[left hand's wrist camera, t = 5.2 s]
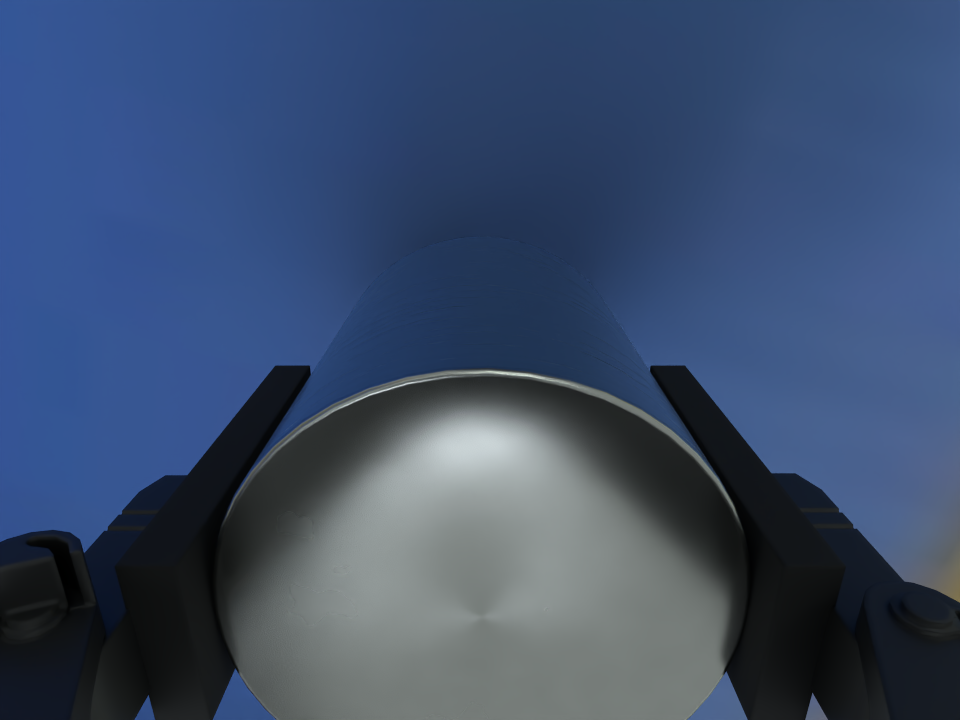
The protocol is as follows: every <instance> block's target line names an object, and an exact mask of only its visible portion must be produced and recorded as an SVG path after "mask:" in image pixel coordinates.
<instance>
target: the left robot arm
mask: <svg viewBox="0 0 960 720" xmlns="http://www.w3.org/2000/svg"><path fill="white" fill-rule="evenodd" d="M650 373H651V374H652V376H653V377H654V379H655V380H656V382H657V383H658V385H659V387H660V388H661V390H662V391H663V393H664V394H665V396H666V397H667V399H668V400H669V402H670V403H671V405H672V406H673V408H674V410H675V411H676V413H677V414H678V416H679V417H680V419H681V420H682V422H683V423H684V425H685V426H686V428H687V430H688V431H689V433H690V434H691V436H692V437H693V439H694V440H695V442H696V443H697V445H698V446H699V448H700V450H701V451H702V453H703V454H704V456H705V457H706V459H707V460H708V462H709V463H710V465H711V466H712V468H713V470H714V471H715V473H716V474H717V476H718V477H719V479H720V481H721V482H722V484H723V486H724V488H725V489H726V491H727V493H728V495H729V496H730V498H731V500H732V501H733V503H734V505H735V508H736V511H737V513H738V516H739V519H740V521H741V524H742V527H743V529H744V532H745V537H746V542H747V547H748V552H749V557H750V577H751V594H750V601H749V608H748V615H747V621H746V624H745V627H744V630H743V634H742V637H741V640H740V643H739V646H738V648H737V650H736V652H735V654H734V657H733V659H732V661H731V663H730V665H729V667H728V669H727V673H728V676H729V678H730V680H731V683H732V685H733V687H734V689H735V692H736V694H737V696H738V698H739V701H740V703H741V705H742V708H743V710H744V712H745V714H746V717H747V719H748V720H805V718H806V715H807V711H808V707H809V703H810V700H811V696H812V692H813V694H814V696H815V698H816V699H817V701H818V703H819V705H820V706H821V708H822V710H823V712H824V713H825V715H826V717H827V719H828V720H960V603H959V602H957V601H956V600H954V599H952V598H950V597H948V596H946V595H944V594H942V593H940V592H938V591H936V590H934V589H931V588H928V587H924V586H921V585H918V584H915V583H911V582H904V581H903V580H902V578H901V577H900V576H899V575H898V574H897V573H896V572H895V571H894V570H893V568H892V567H891V566H890V565H889V564H888V563H887V562H886V561H885V560H884V558H883V557H882V556H881V555H880V554H879V553H878V552H877V551H876V550H875V548H874V547H873V546H872V545H871V544H870V543H869V542H868V541H867V540H866V538H865V537H864V536H863V535H862V534H861V533H860V532H859V531H858V530H857V529H854V528H853V524H852V523H851V522H850V521H849V520H848V518H847V517H846V516H845V515H844V514H843V513H839V508H838V507H837V506H836V505H835V504H834V503H833V502H832V501H831V500H830V498H829V497H828V496H827V495H826V494H825V493H824V492H823V491H822V490H821V489H820V488H818V487H816V486H815V485H813V484H812V483H810V482H808V481H807V480H805V479H803V478H802V477H800V476H799V475H797V474H795V473H771V472H770V471H769V470H768V469H767V467H766V466H765V465H764V464H763V462H762V461H761V460H760V459H759V457H758V456H757V455H756V454H755V452H754V451H753V450H752V449H751V447H750V446H749V445H748V444H747V442H746V441H745V440H744V439H743V437H742V436H741V435H740V434H739V432H738V431H737V430H736V429H735V427H734V426H733V425H732V424H731V422H730V421H729V420H728V419H727V417H726V416H725V415H724V414H723V412H722V411H721V410H720V409H719V407H718V406H717V405H716V404H715V402H714V401H713V400H712V399H711V398H710V396H709V395H708V394H707V393H706V391H705V390H704V389H703V388H702V386H701V385H700V384H699V383H698V381H697V380H696V379H695V378H694V376H693V375H692V374H691V373H690V371H689V370H688V369H687V368H686V366H651V367H650ZM310 376H311V373H310V366H275V367H274V368H273V369H272V371H271V372H270V373H269V374H268V376H267V377H266V378H265V379H264V381H263V382H262V383H261V384H260V386H259V387H258V388H257V389H256V391H255V392H254V393H253V394H252V396H251V397H250V398H249V399H248V401H247V402H246V403H245V404H244V406H243V407H242V408H241V409H240V411H239V412H238V413H237V414H236V415H235V417H234V418H233V419H232V420H231V422H230V423H229V424H228V425H227V427H226V428H225V429H224V430H223V432H222V433H221V434H220V435H219V437H218V438H217V439H216V440H215V442H214V443H213V444H212V445H211V447H210V448H209V449H208V450H207V452H206V453H205V454H204V455H203V457H202V458H201V459H200V460H199V462H198V463H197V464H196V465H195V467H194V468H193V469H192V470H191V472H190V473H189V474H188V475H165V476H164V477H162V478H161V479H159V480H157V481H156V482H154V483H153V484H151V485H149V486H148V487H146V488H145V489H143V490H141V491H140V492H139V493H138V494H137V495H136V496H135V497H134V498H133V499H132V501H131V502H130V503H129V504H128V505H127V506H126V507H125V508H124V509H123V511H122V515H118V516H117V517H116V518H115V520H114V521H113V522H112V523H111V524H110V525H109V526H108V531H104V532H103V533H102V534H101V535H100V536H99V537H98V539H97V540H96V541H95V542H94V543H93V544H92V545H91V546H90V547H89V549H88V550H87V551H86V552H85V553H84V552H83V548H82V545H81V541H80V539H78V538H77V537H76V536H74V535H73V534H71V533H70V532H63V531H57V530H48V531H39V532H30V533H27V534H23V535H20V536H17V537H13V538H10V539H6V540H4V541H2V542H0V720H134V719H135V717H136V716H137V714H138V712H139V710H140V709H141V707H142V705H143V703H144V702H145V700H146V698H147V696H148V695H149V698H150V702H151V705H152V709H153V713H154V717H155V720H213V718H214V715H215V713H216V711H217V709H218V706H219V704H220V702H221V699H222V697H223V695H224V693H225V690H226V688H227V686H228V683H229V681H230V679H231V677H232V674H233V672H234V670H235V667H234V665H233V663H232V661H231V659H230V656H229V654H228V652H227V649H226V647H225V645H224V643H223V640H222V638H221V634H220V630H219V626H218V622H217V618H216V614H215V609H214V598H213V587H212V575H213V563H214V551H215V547H216V543H217V539H218V535H219V531H220V527H221V523H222V521H223V519H224V516H225V514H226V512H227V510H228V507H229V505H230V503H231V501H232V498H233V496H234V494H235V493H236V491H237V490H238V488H239V486H240V485H241V483H242V482H243V480H244V479H245V477H246V475H247V474H248V472H249V471H250V469H251V468H252V466H253V465H254V463H255V461H256V460H257V458H258V457H259V455H260V454H261V452H262V451H263V449H264V447H265V446H266V444H267V443H268V441H269V440H270V438H271V436H272V435H273V433H274V432H275V430H276V429H277V427H278V426H279V424H280V422H281V421H282V419H283V418H284V416H285V415H286V413H287V411H288V410H289V408H290V407H291V405H292V404H293V402H294V401H295V399H296V397H297V396H298V394H299V393H300V391H301V390H302V388H303V387H304V385H305V383H306V382H307V380H308V379H309V377H310Z"/></svg>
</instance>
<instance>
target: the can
mask: <svg viewBox="0 0 960 720" xmlns="http://www.w3.org/2000/svg"><path fill="white" fill-rule="evenodd" d="M212 587H213V598H214V609H215V614H216V618H217V622H218V626H219V630H220V634H221V638H222V640H223V643H224V645H225V647H226V649H227V652H228V654H229V656H230V659H231V661H232V663H233V665H234V667H235V668H236V670H237V672H238V673H239V675H240V676H241V678H242V680H243V681H244V683H245V684H246V686H247V688H248V689H249V690H250V691H251V692H252V694H253V695H254V696H255V697H256V698H257V700H258V701H259V702H260V703H261V705H262V706H263V707H264V708H265V709H266V710H267V711H268V712H269V713H270V714H271V715H272V716H273V717H274V718H275V719H276V720H687V719H688V718H689V717H690V716H691V715H692V714H693V713H694V712H695V711H696V710H697V709H698V708H699V707H700V705H701V704H702V703H703V702H704V701H705V700H706V699H707V698H708V697H709V695H710V694H711V693H712V691H713V690H714V688H715V687H716V686H717V684H718V683H719V681H720V680H721V678H722V677H723V675H724V674H725V672H726V671H727V669H728V667H729V665H730V663H731V661H732V659H733V657H734V654H735V652H736V650H737V648H738V646H739V643H740V640H741V637H742V634H743V630H744V627H745V624H746V621H747V615H748V608H749V601H750V594H751V577H750V557H749V552H748V547H747V542H746V537H745V532H744V529H743V527H742V524H741V521H740V519H739V516H738V513H737V511H736V508H735V505H734V503H733V501H732V500H731V498H730V496H729V495H728V493H727V491H726V489H725V488H724V486H723V484H722V482H721V481H720V479H719V477H718V476H717V474H716V473H715V471H714V470H713V468H712V466H711V465H710V463H709V462H708V460H707V459H706V457H705V456H704V454H703V453H702V451H701V450H700V448H699V446H698V445H697V443H696V442H695V440H694V439H693V437H692V436H691V434H690V433H689V431H688V430H687V428H686V426H685V425H684V423H683V422H682V420H681V419H680V417H679V416H678V414H677V413H676V411H675V410H674V408H673V406H672V405H671V403H670V402H669V400H668V399H667V397H666V396H665V394H664V393H663V391H662V390H661V388H660V387H659V385H658V383H657V382H656V380H655V379H654V377H653V376H652V374H651V373H650V371H649V370H648V368H647V367H646V365H645V363H644V362H643V360H642V359H641V357H640V356H639V354H638V353H637V351H636V350H635V348H634V347H633V345H632V343H631V342H630V340H629V339H628V337H627V336H626V334H625V333H624V331H623V330H622V328H621V327H620V325H619V323H618V322H617V320H616V319H615V317H614V316H613V314H612V313H611V311H610V310H609V308H608V307H607V305H606V303H605V302H604V300H603V299H602V297H601V296H600V295H599V294H598V292H597V291H596V290H595V289H594V287H593V286H592V285H591V284H590V282H589V281H587V280H586V279H585V278H584V277H583V276H582V275H581V274H580V273H579V272H578V271H577V270H576V269H574V268H573V267H572V266H570V265H569V264H567V263H566V262H565V261H563V260H562V259H560V258H559V257H557V256H555V255H553V254H551V253H549V252H547V251H545V250H543V249H541V248H538V247H535V246H533V245H530V244H527V243H524V242H520V241H515V240H511V239H506V238H498V237H487V236H480V237H462V238H457V239H451V240H445V241H442V242H439V243H435V244H432V245H429V246H426V247H423V248H421V249H419V250H417V251H415V252H413V253H411V254H409V255H407V256H405V257H404V258H402V259H401V260H399V261H397V262H396V263H394V264H393V265H391V266H390V267H389V268H388V269H387V270H385V271H384V272H383V273H382V274H381V275H380V276H378V277H377V278H376V279H375V280H374V282H373V283H372V284H371V285H370V286H369V287H368V288H367V290H366V291H365V292H364V293H363V295H362V296H361V298H360V299H359V301H358V302H357V304H356V305H355V307H354V308H353V310H352V312H351V313H350V315H349V316H348V318H347V319H346V321H345V323H344V324H343V326H342V327H341V329H340V330H339V332H338V333H337V335H336V337H335V338H334V340H333V341H332V343H331V344H330V346H329V348H328V349H327V351H326V352H325V354H324V355H323V357H322V358H321V360H320V362H319V363H318V365H317V366H316V368H315V369H314V371H313V372H312V374H311V376H310V377H309V379H308V380H307V382H306V383H305V385H304V387H303V388H302V390H301V391H300V393H299V394H298V396H297V397H296V399H295V401H294V402H293V404H292V405H291V407H290V408H289V410H288V411H287V413H286V415H285V416H284V418H283V419H282V421H281V422H280V424H279V426H278V427H277V429H276V430H275V432H274V433H273V435H272V436H271V438H270V440H269V441H268V443H267V444H266V446H265V447H264V449H263V451H262V452H261V454H260V455H259V457H258V458H257V460H256V461H255V463H254V465H253V466H252V468H251V469H250V471H249V472H248V474H247V475H246V477H245V479H244V480H243V482H242V483H241V485H240V486H239V488H238V490H237V491H236V493H235V494H234V496H233V498H232V501H231V503H230V505H229V507H228V510H227V512H226V514H225V516H224V519H223V521H222V523H221V527H220V531H219V535H218V539H217V543H216V547H215V551H214V563H213V575H212Z"/></svg>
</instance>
